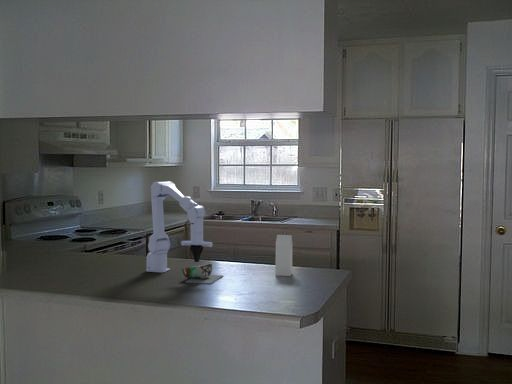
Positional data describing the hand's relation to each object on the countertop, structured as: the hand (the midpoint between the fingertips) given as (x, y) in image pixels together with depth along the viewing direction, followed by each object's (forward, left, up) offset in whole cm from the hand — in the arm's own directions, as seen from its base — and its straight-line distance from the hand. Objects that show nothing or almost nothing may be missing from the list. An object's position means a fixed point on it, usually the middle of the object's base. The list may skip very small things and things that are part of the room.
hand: (196, 261), depth 244 cm
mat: (+4, 0, -8) cm, 9 cm away
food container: (-5, 0, -6) cm, 8 cm away
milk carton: (+36, +21, -8) cm, 42 cm away
